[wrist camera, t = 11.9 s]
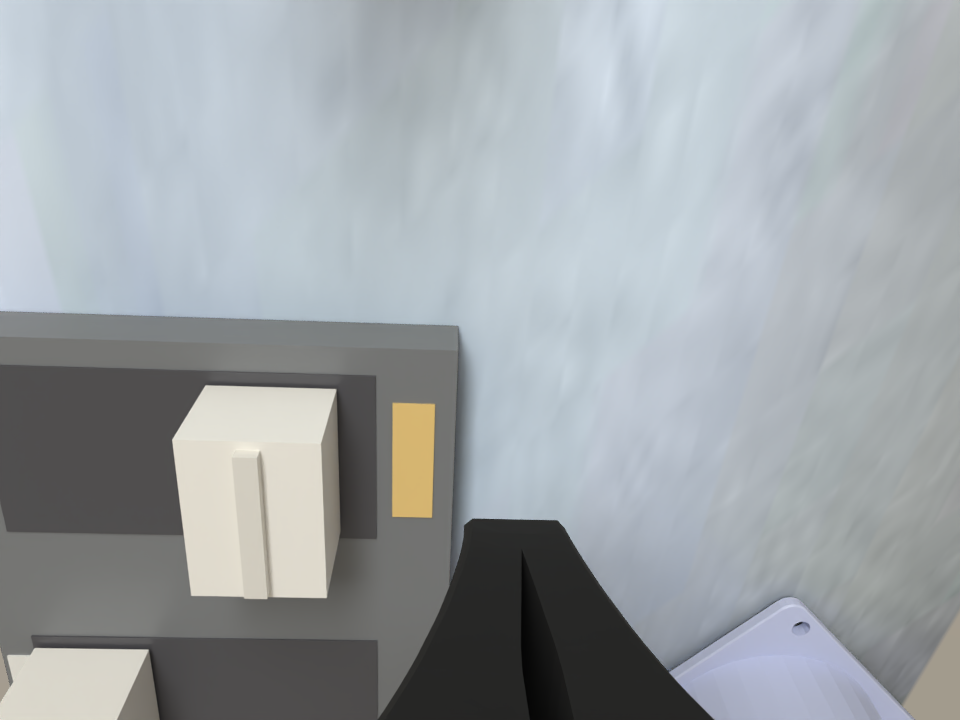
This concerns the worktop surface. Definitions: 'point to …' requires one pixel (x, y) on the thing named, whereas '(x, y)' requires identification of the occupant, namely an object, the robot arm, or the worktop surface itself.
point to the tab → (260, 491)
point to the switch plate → (157, 514)
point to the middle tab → (83, 686)
